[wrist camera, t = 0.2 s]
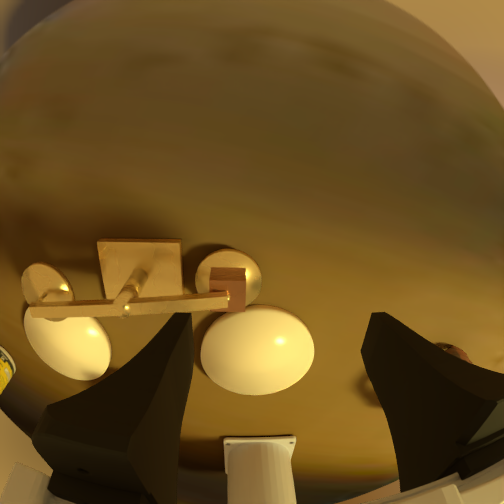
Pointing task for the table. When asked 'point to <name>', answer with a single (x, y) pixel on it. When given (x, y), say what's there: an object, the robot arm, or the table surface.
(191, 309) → the balance
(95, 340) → the cream round disc
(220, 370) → the dish low side
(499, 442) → the robot arm
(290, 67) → the table surface
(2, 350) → the supplement bottle
